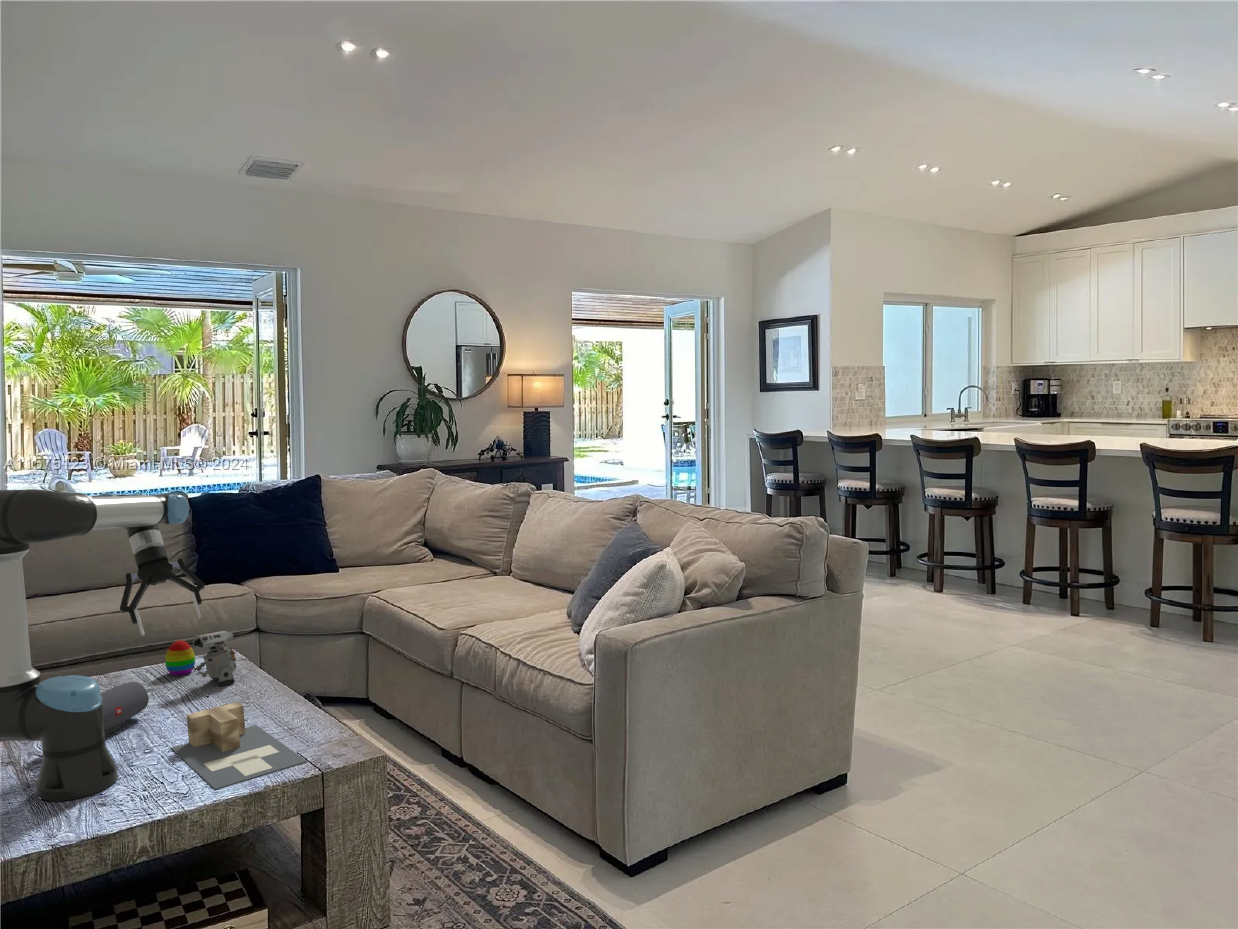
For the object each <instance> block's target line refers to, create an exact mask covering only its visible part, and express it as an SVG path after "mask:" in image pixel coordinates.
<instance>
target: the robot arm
mask: <svg viewBox="0 0 1238 929" xmlns="http://www.w3.org/2000/svg"><path fill="white" fill-rule="evenodd" d="M189 507H190V504H189V502H188V499H187V498H186V497H185V496H184V495H182V494H172V493H171V494H152V495H150V494H145V493H132V494H131V493H130V494H128V495H117V494H116V493H107V492H104V493H100V494H98V495H96V496H89V495H87V494H86V493H83V492H82V493H81V492H66V491H54V490H48V489H47V490H46V489H38V488H30V489H28V488H27V489H0V743H1V742H2V743H3V742H11V741H12V742H34V741H35V742H37V741H38V742H41V750H42V760H41V761H42V762H41V765H40V768H39V772H38V776H37V779H36V780H37V781H36V783H35V790H36V791H35V792H36V793H35V794H36V797H37V796H38V797H40V798H41V799H44V800H49V801H48V802H65V801H70V800H71V801H72V800H77V799H81V798H85V797H88V796H92V795H94V794H97V793H99V792H102V791H104V790H105V789H106V790H107V789H108V788H109V787H111V786H112V785H114V784H115V783H116V782H117V781H118V769H117V765H116V764H115V762H114V760H113V757H112V756H111V754H110V752H109V750H108V747H107V746H106V738H105V736H106V735H104V723H103V711H102V697H101V693H102V692H101V688H100V684H99V683H98V681H97V680H95V679H94V678H92V677H90V676H84V675H76V674H74V675H72V674H71V675H68V674H67V675H65V676H61V675H59V676H53V677H49V678H47V679H44V680H41V679H42V678H41V672H40V671H39V670H37V669H36V668H34V667H33V666H32V660H31V659H32V658H31V648H30V645H31V644H30V634H29V622H28V612H27V610H28V609H27V601H26V590H25V579H24V577H25V576H24V566H23V559H24V557H25V556H26V554H27V553H29V552H30V550H31V549H30V545H35V544H43V543H47V542H53V541H57V540H62V539H64V540H65V539H68V538H74V537H82V536H86V535H87V534H89V533H91V531H101V530H102V531H103V530H112V529H125V531H126V533H127V537H128V541H129V544H130V547H131V550H132V553H133V554H134V555H133V556H134V561H135V564H136V567H137V572H134V573H130V572H127V573H126V574H125V580H126V582H125V583H126V584H125V587H124V590H123V594H122V597H121V601H120V606H119V610H120V612H121V613H122V614H125V613H129V616H130V619H131V620H130V621H131V622H132V624H133V625H138V626H137V627H138V628H139V632H140V636H141V637H143V636H146V635H145V634H146V633H145V630H144V627H143V622H142V620H141V616H140V613H139V610H138V605H139V603H140V602H141V600H142V598H143V596H144V594H145V593H146V590H148V588H149V586H153V587H154V586H156V585H158V584H164V583H166V582H167V581H170V582H171V583H175V584H177V585H178V586H180V587H182V588H184V589H185V590H188V591H190V595H191V598H192V599H191V600H192V602H193V605H194V608H195V611H196V614H197V617H198V618H197V619H201V618H202V613H201V611H200V607H199V605H201V604H202V603H203V600H202V597H201V594H200V592H201V591H202V590H204V589H205V588H206V585H205V583H204V582H203V580H202V579H200V578H199V577H198V576H197V574H195V573H194V572H193V571H192V570H191V569H190V568H189V567H187V565H186V564H185V563H184V562H185V561H184V560H183V559H182V558H178V559H177V560H175V561H173V562H170V559H169V556H168V552H167V550H166V547H164V545H165V544H164V540H163V537H162V536H163V535H162V533H161V530H160V528H159V525H170V526H173V525H179V524H183V523H184V522H186V521H187V519H188V517H189V513H190V508H189ZM174 568H175V569H177V570H181V571H182V573H183V574H184V575H186V576H187V577H188V579H190V580H191V581H192V582H193V583H194V584H195V585H194V584H193V583H190V582H188V581H187V580H185V579H183V578H181V577H179V576H178V575H176V574H175V573H173V572H172V571H173V569H174ZM137 578H139V579H140V580H142V581H141V582H140V586H139V588H138V589H137V591H136V593H135V594H134V597H133V598H132V600H131V602H130V597H131V595H132V594H131V593H132V590H133V587H134V585H133V583H135V582H136V579H137ZM129 602H130V604H129ZM38 797H37V798H38ZM41 799H40V800H41ZM44 800H43V801H44Z"/></svg>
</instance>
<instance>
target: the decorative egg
mask: <svg viewBox="0 0 1238 929" xmlns="http://www.w3.org/2000/svg"><path fill="white" fill-rule="evenodd" d="M164 659H165V660H164V661H165V667H166V669H167V671H168V673H169V674H170V675H172V676H176V677H177V676H183V675H188V674H190V673H191V672H193V671H194V668H195V665H196V655H195V652H194V649H193V648H192V647H191V645H190V644H189V643H188V642H186V641H185V640H181V639H180V640H176V641H174V642H173V643H172V644H171V645H170V646H169V647H168V650H167V651H166V655H165V658H164ZM193 667H194V668H193ZM192 668H193V669H192Z"/></svg>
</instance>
